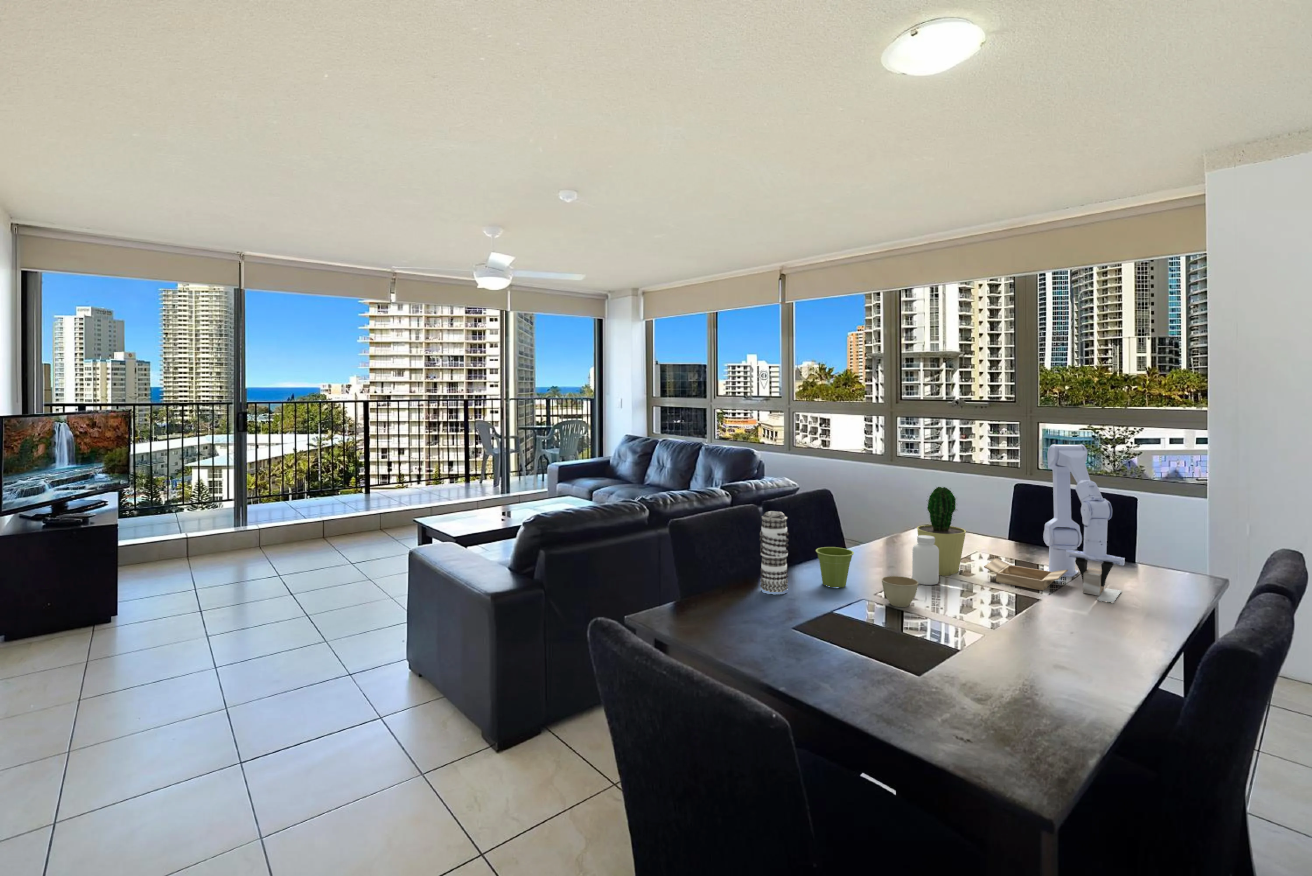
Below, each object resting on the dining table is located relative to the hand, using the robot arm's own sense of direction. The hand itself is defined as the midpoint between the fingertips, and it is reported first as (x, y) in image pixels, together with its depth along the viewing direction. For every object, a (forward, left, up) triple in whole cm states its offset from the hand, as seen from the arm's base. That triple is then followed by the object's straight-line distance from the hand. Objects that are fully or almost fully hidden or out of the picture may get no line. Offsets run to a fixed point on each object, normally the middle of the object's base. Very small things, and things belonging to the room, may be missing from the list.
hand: (1093, 584), depth 189 cm
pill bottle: (+22, -42, -3) cm, 48 cm away
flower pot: (+49, -39, -3) cm, 63 cm away
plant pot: (+45, -62, -3) cm, 77 cm away
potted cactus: (+6, -43, -3) cm, 44 cm away
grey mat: (0, 0, -3) cm, 3 cm away
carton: (+2, -18, -3) cm, 18 cm away
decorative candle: (+63, -73, -3) cm, 96 cm away
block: (0, 0, -2) cm, 2 cm away
